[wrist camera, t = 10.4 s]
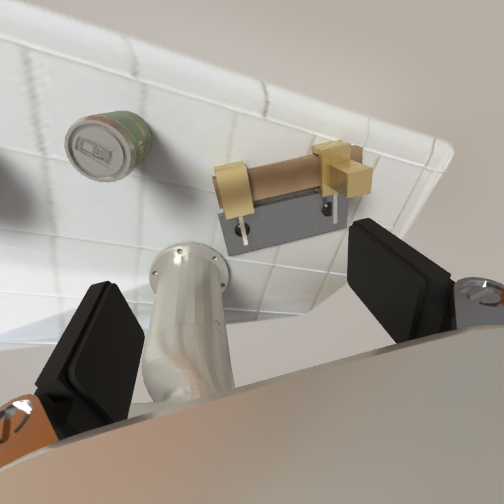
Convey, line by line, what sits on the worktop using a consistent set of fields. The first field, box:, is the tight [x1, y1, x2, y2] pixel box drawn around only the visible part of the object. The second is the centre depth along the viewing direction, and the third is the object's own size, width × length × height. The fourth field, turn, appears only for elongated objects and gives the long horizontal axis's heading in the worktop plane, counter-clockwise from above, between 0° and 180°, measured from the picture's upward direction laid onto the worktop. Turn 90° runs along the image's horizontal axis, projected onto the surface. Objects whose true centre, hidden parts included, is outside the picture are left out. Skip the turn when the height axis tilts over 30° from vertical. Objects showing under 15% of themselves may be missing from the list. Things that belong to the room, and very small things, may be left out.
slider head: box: [312, 140, 373, 224], centre depth 35 cm, size 11×4×9 cm, turn 10°
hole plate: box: [218, 192, 347, 256], centre depth 41 cm, size 7×20×1 cm, turn 100°
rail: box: [212, 145, 363, 245], centre depth 38 cm, size 11×21×3 cm, turn 100°
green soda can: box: [65, 111, 152, 182], centre depth 27 cm, size 5×5×12 cm
